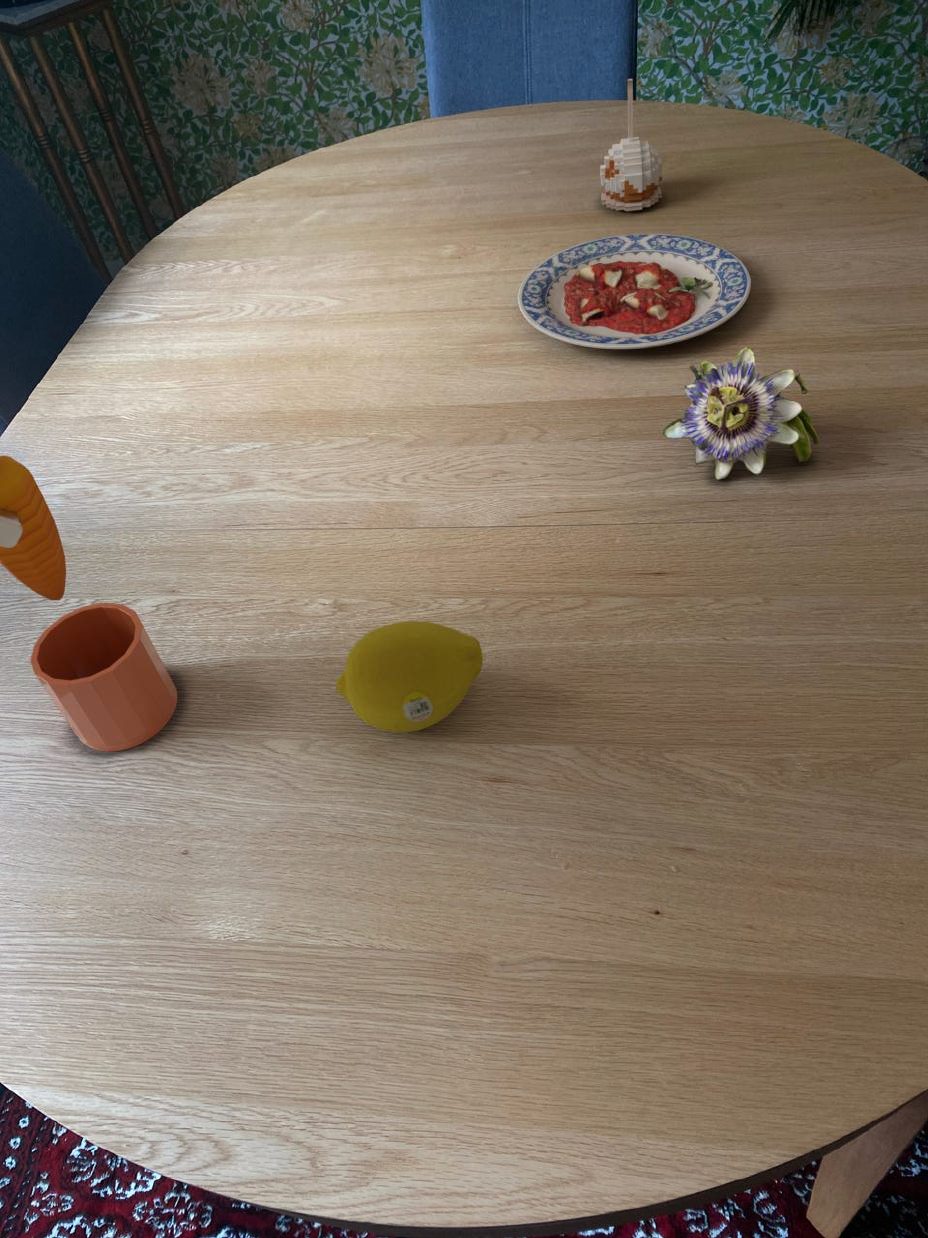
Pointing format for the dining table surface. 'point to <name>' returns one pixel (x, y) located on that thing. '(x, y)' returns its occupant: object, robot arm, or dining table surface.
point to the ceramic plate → (634, 291)
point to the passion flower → (742, 415)
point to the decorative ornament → (631, 170)
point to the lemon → (409, 674)
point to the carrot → (31, 533)
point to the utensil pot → (105, 676)
